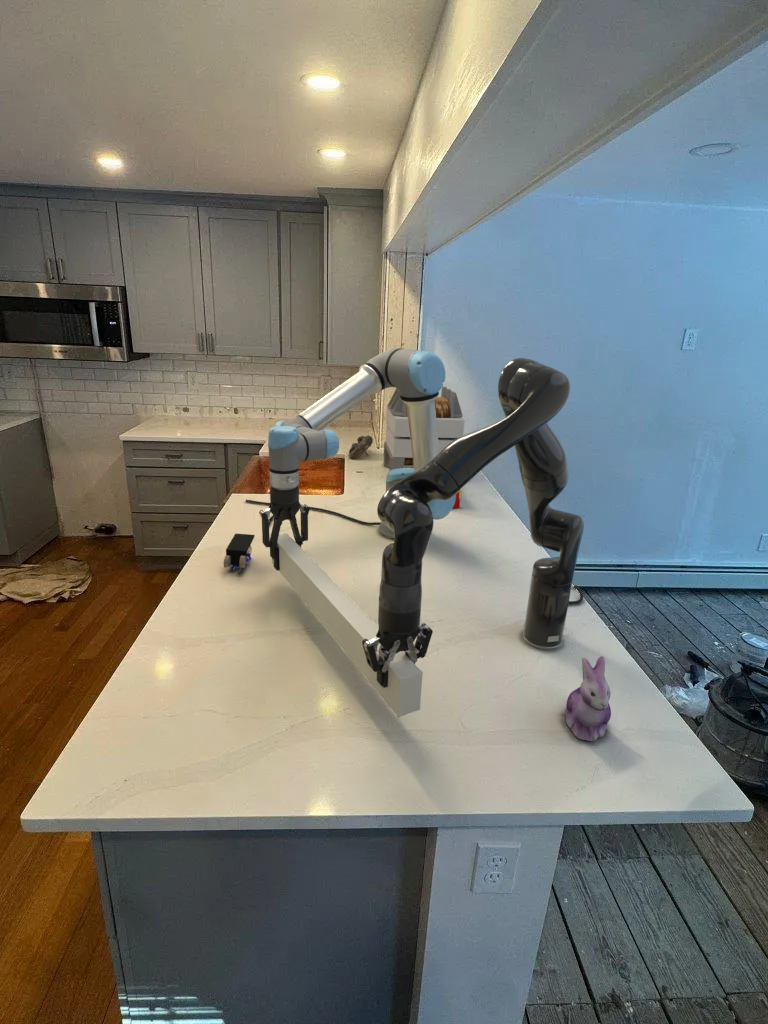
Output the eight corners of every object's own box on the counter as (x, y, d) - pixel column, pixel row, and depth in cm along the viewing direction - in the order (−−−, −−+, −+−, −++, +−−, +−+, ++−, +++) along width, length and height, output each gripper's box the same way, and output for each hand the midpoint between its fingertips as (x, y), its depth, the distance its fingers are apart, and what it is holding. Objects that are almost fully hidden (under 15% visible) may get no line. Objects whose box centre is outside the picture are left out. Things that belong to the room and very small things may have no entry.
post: (271, 562, 160) (271, 535, 157) (287, 559, 162) (287, 533, 159) (398, 717, 102) (400, 679, 99) (420, 709, 104) (422, 672, 101)
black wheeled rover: (246, 579, 165) (256, 553, 178) (245, 557, 161) (255, 532, 175) (223, 578, 165) (235, 552, 178) (221, 556, 161) (233, 531, 175)
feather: (284, 505, 226) (287, 501, 226) (267, 528, 200) (269, 524, 199) (281, 503, 226) (283, 499, 225) (262, 526, 199) (265, 521, 199)
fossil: (348, 441, 313) (370, 426, 308) (359, 455, 316) (380, 440, 311) (342, 455, 293) (365, 439, 288) (353, 469, 296) (376, 454, 291)
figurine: (589, 751, 104) (604, 682, 99) (550, 716, 112) (561, 651, 107) (625, 735, 108) (641, 669, 103) (585, 703, 116) (597, 640, 111)
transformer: (382, 463, 289) (386, 382, 275) (445, 464, 293) (451, 384, 279) (390, 482, 257) (394, 392, 243) (460, 483, 261) (468, 394, 247)
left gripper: (255, 494, 141) (258, 578, 149) (321, 486, 149) (321, 566, 157) (246, 485, 147) (250, 566, 155) (310, 478, 156) (311, 556, 164)
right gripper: (374, 620, 94) (371, 704, 100) (445, 602, 100) (438, 682, 106) (354, 599, 100) (352, 680, 106) (422, 584, 107) (417, 660, 112)
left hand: (286, 566), depth 156 cm, fingers closed on post, 5 cm apart
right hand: (395, 680), depth 106 cm, fingers closed on post, 4 cm apart
